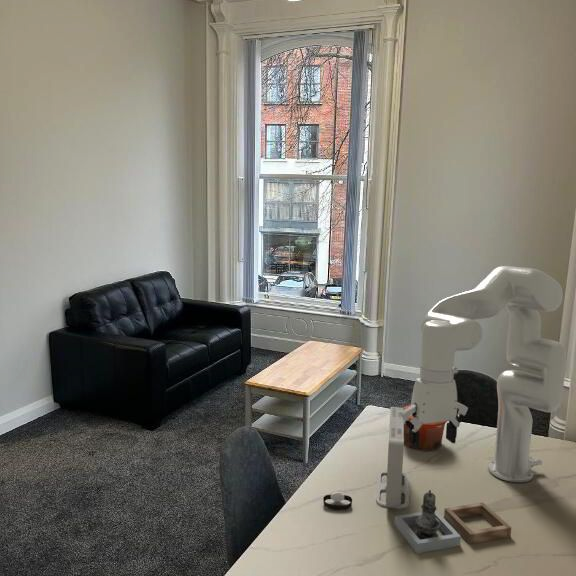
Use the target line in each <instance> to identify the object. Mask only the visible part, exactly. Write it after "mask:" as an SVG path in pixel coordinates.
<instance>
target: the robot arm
mask: <svg viewBox="0 0 576 576" xmlns="http://www.w3.org/2000/svg"><path fill="white" fill-rule="evenodd" d="M563 297H564V292H563V288H562V286H561V284H560V283H559V282H558V280H556V279H555V278H553V277H552V276H551V275H549V274H547V273H546V272H544V271H542V270H540V269H536V268H531V267H522V266H512V265H500V266H498V267H495V268H494V269H493V270H492V271H491V272H489V273H488V275H487V276H486V277H484V279H482V280H481V281H480V282H479V283H478V284H477V285H476V286H475V287H474V288H473V289H471V290H469V291H468V290H467V291H464V292H462V293H458V294H455V295H452V296H449V297H446V298H444V299H442V300H440V301H439V302H438V303H436V304H435V305H434V306H433V307H432V308H431V309H430V310H429V311H428V312H427V313H426V314H425V316H424V317H423V319H422V321H421V324H420V333H421V345H420V347H421V349H420V365H419V367H420V369H419V377H417V378H416V379H415V382H414V385H413V389H412V393H411V402H410V405H411V406H410V407H408V408H407V409H405V410H403V411H402V412H401V413H400V416H401V418H402V420H403V423H404V424H405V425H406V426H407V427H408V428H409V442H410V444H412V445H413V446H414V447H415V448H418V447H419V434H420V433H419V432H418V429H419V428H420V427H421V425H422V424H428V423H437V422H445V421H447V422H446V425H445V426H446V427H445V428H446V430H445V439H446V440H448V441H449V442H450V443H451V444H456V441H457V440H456V439H457V434H458V428H459V427H460V424H461V422H462V421H463V420H464V419H465V416H466V414H467V412H468V410H469V407H468V406H466V405H465V404H462V403H460V402H458V391H457V382H456V380H455V379H454V378H455V377H454V375H455V374H458V373H459V370H458V369H459V368H457V367H455V356H456V353H455V352H459V351H470V350H473V349H474V348H476V347H477V346H478V345H479V344H480V343H481V341H482V338H483V329H482V326H481V324H480V323H479V322H478V321H476V320H484V319H490V318H493V317H495V316H497V315H498V314H499V313H500V312H501V311H502V310H503V309H504V307H505V309H506V311H507V314H508V319H509V320H508V331H507V338H506V339H507V340H506V341H507V342H506V349H505V354H506V355H505V357H506V360H507V362H508V363H509V364H510V365H513V366H515V367H518V368H521V369H525V370H529V371H530V370H531V371H535V372H539V373H541V374H542V376H541V375H537V374H534V373H532V372H531V373H529V372H526V371H522V370H515V369H507V370H504V371H502V372H501V373H500V374H499V376H498V378H497V382H496V390H497V391H496V392H497V399H498V411H497V423H496V437H495V448H494V449H495V450H494V459H493V460H492V461H490V462H489V463H488V472H489V473H490V474H491V475H493V476H494V477H496V478H497V479H499V480H502V481H505V482H511V483H527V482H530V481H531V480H532V479H533V478H534V471H533V469H532V468H534V467H537V466H541V465H543V461H542V459H541V458H534V459H533V457H532V456H530V453H531V443H532V442H531V441H532V432H533V431H532V430H533V417H532V413H531V411H530V408H531V409H534V410H537V411H541V412H545V413H554V412H556V411H558V409H559V408H560V407H561V403H562V399H563V393H564V385H565V378H566V377H565V376H566V369H567V350H566V348H565V346H564V345H563V344H562V343H561V342H560V341H556V340H552V339H547V338H542V336H541V327H542V318H541V315H540V312H539V311H542V312H549V313H550V312H555V311H556V310H558V308H559V307H560V306H561V305H562V302H563ZM410 415H411V416H412V417H413V418H412V419H411V421H409V418H408V417H409V416H410ZM416 422H417V423H416ZM415 423H416V424H415Z"/></svg>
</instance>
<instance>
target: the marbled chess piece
mask: <svg viewBox="0 0 576 576" xmlns="http://www.w3.org/2000/svg"><path fill="white" fill-rule="evenodd" d="M436 499H437V497H436V495H435V493H433V492H432V490H431V489H429V490H428V491H427V492H425V493H423V498H422V504H421V506H420V507H421V512H422V515H420V516H418V517H417V518H416V523H417V525H416V527H417V530H416V532H415V535H416V536H417V537H418V538H419V540H422V539H428V538H433V537H439V533H437V532H438V531H439V530H440V529H439V527H440V521H439V520H438V519H437V518H435V511H437V506H436Z"/></svg>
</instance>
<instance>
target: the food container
mask: <svg viewBox="0 0 576 576" xmlns="http://www.w3.org/2000/svg"><path fill="white" fill-rule="evenodd" d="M410 406H411V404H409V405H406V406H403V407H402V408H403V410H405V409H407V408H408V407H410ZM408 418H409V421H411V419H412V418H413V417H412V416H411V415H410V416H409V417H408ZM416 423H417V422H416ZM416 423H415V424H416ZM447 423H448V421H445V422H437V423H428V424H422V425H421V427H420V428H419V429H418V432H419V433H420V434H419V447H418V448H415V447H414V446H413V445H412V444H410V442H409V428H408V427H407V426H406V425H405V424H404V446H406V447H408V448H411V449H413V450H417V451H425V452H427V451H434V450H438V449H439V448H440V447H441V446H442V442H443V437H444V431H445V428H446V427H445V426H446V424H447Z"/></svg>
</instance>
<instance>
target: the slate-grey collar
mask: <svg viewBox="0 0 576 576" xmlns="http://www.w3.org/2000/svg"><path fill="white" fill-rule="evenodd" d="M420 515H422V511H420V512H414V513H412V512H411V513H407V514H402V515H401V514H399V515H395V516H394V526H395V527H396V529H397V530H398V531H399V533H400V534H401V535H402V536H403V538H404V539H405V540H406V542H408V544H409V545H410V546H411V549H413V551H414V552H415V553H416V554H422V553H429V552H433V551H439V550H443V549H444V550H445V549H451V548H455V547H460V546H461V543H462V542H461V541H462V539H461V538H462V535H461V534H460V533H459V532H458V531H457V530H456V529H455V528H454V527H453V526H452V525H451V524H450V523H449V522H448V521H447V520H446V519H445V518H444V516H442V515H441V514H440V513H439V512H438V511H437V510H436V511H435V518H437V519H438V520H439V521H440V527H439V529H438V530H440V531H441V533H443V534H444V535H438V537H433V538H428V539H422V540H421V539H419V538H418V537H417V535H416V533H415V532H414V531H413V530H412V529H411V527H412V526H417V523H416V518H417V517H418V516H420Z"/></svg>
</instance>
